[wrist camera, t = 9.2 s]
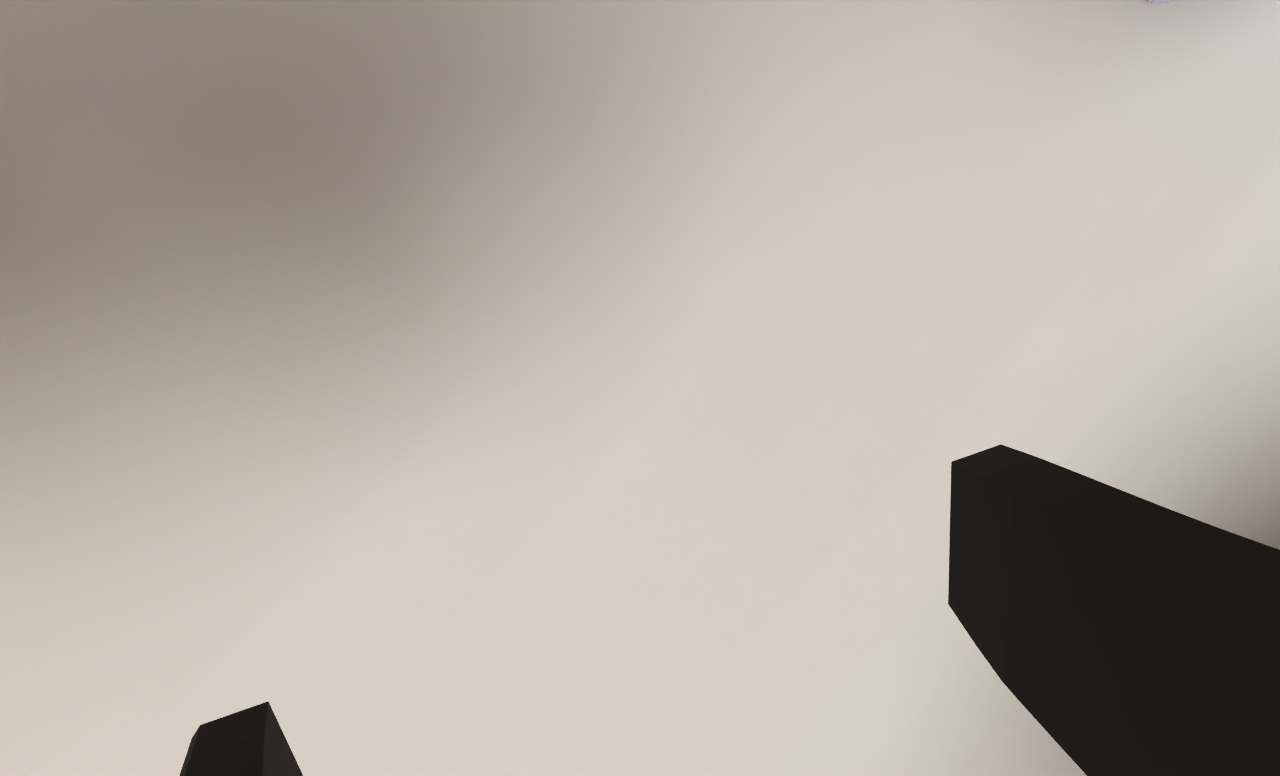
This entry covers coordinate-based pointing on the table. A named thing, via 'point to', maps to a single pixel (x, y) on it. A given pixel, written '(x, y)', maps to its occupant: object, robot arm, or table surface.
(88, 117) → the table surface
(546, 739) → the table surface
